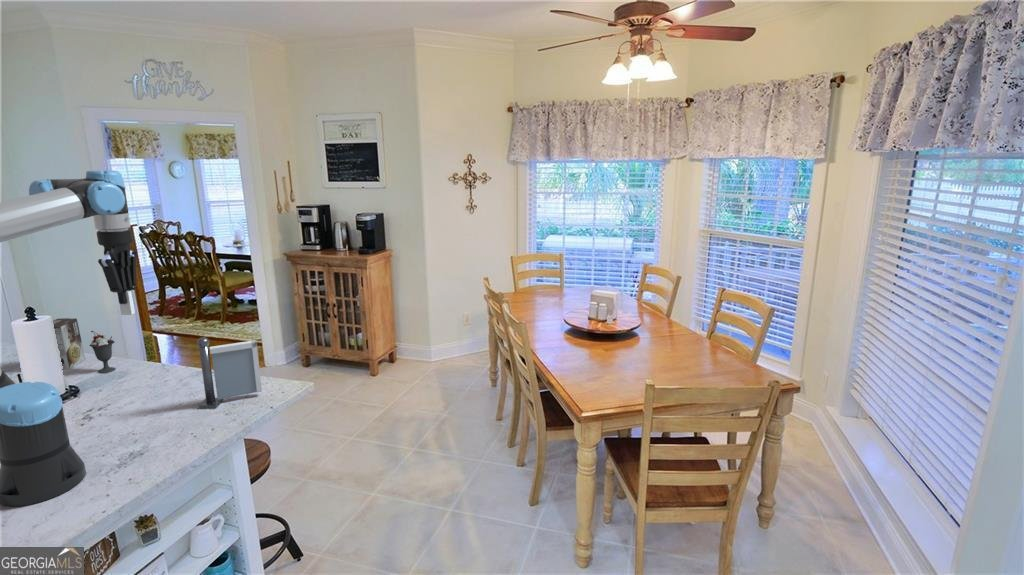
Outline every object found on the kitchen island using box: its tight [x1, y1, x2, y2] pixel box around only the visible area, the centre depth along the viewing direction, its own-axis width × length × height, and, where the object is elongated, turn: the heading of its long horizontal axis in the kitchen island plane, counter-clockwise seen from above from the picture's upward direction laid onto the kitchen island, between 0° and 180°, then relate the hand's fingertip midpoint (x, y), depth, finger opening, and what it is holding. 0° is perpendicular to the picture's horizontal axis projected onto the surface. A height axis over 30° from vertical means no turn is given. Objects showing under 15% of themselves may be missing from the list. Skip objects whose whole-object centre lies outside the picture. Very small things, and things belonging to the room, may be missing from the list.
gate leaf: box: [209, 339, 263, 400], centre depth 157 cm, size 12×2×17 cm, turn 121°
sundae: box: [89, 330, 116, 374], centre depth 176 cm, size 7×7×15 cm
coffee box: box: [52, 317, 86, 371], centre depth 180 cm, size 9×6×16 cm
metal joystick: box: [196, 336, 224, 410], centre depth 153 cm, size 5×5×22 cm
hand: (128, 313), depth 142 cm, fingers closed
